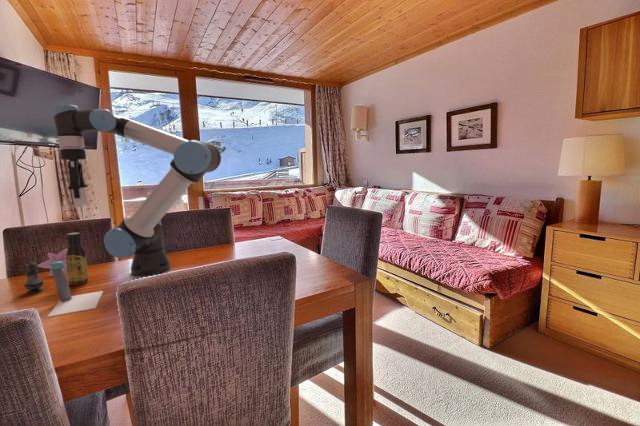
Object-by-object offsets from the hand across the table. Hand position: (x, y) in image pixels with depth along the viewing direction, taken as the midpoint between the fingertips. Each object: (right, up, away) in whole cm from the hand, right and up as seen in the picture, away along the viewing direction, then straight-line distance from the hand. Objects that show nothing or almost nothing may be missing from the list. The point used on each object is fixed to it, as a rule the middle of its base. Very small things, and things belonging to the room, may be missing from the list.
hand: (81, 205), depth 122 cm
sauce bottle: (-4, -30, +4) cm, 31 cm away
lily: (-22, -29, +17) cm, 40 cm away
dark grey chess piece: (-14, -32, -4) cm, 35 cm away
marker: (+5, -32, -13) cm, 35 cm away
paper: (+11, -33, -16) cm, 38 cm away
